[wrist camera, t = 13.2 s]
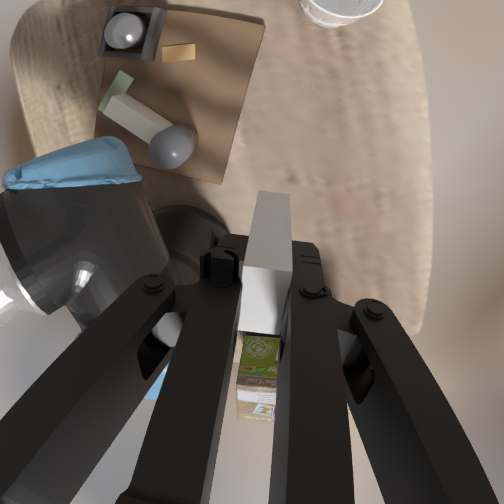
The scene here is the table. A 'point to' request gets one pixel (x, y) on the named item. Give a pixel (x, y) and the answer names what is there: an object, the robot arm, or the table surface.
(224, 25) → the board
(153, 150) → the peg lever
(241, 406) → the tea box
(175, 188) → the table surface
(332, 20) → the white cup
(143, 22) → the button
